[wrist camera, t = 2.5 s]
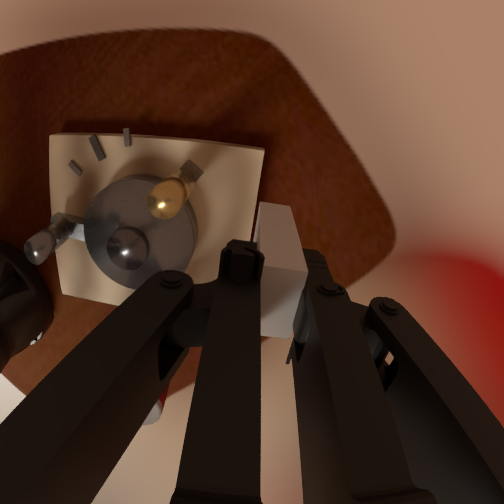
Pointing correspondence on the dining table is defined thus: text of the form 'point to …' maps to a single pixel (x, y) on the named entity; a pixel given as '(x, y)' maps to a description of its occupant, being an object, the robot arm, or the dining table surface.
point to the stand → (160, 164)
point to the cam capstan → (131, 227)
